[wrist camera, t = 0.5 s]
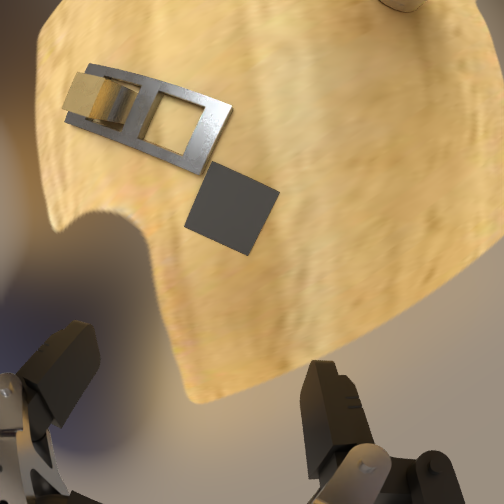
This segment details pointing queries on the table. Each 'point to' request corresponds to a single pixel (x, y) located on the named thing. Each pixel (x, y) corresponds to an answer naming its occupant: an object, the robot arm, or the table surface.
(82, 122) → the grey slotted frame
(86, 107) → the block
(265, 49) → the table surface
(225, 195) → the mat
